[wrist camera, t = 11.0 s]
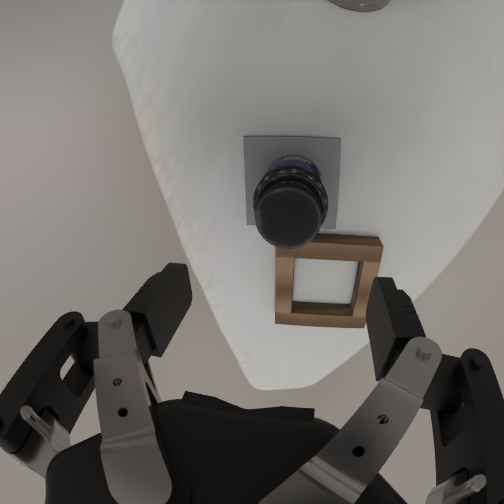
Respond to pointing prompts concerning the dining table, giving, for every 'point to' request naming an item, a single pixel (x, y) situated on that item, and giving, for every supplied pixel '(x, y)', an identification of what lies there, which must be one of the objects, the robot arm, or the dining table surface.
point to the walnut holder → (328, 249)
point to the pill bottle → (290, 202)
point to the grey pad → (275, 147)
